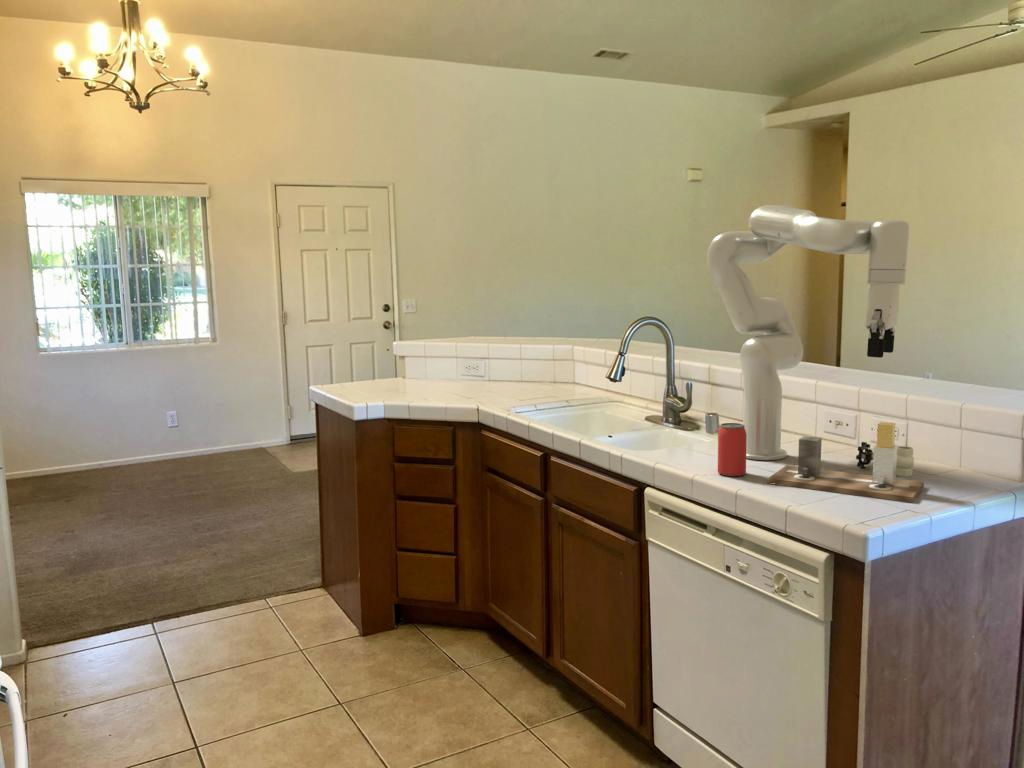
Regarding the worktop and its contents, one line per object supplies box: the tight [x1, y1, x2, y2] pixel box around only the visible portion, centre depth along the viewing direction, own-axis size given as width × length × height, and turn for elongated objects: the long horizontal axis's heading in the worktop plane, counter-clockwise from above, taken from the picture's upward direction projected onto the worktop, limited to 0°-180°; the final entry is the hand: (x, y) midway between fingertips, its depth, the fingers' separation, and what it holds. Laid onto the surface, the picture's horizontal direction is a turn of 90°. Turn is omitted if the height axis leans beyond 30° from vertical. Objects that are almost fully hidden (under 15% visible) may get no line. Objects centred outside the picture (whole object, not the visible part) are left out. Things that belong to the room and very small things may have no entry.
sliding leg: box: [872, 421, 898, 486], centre depth 173 cm, size 4×6×13 cm, turn 145°
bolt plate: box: [767, 435, 925, 504], centre depth 178 cm, size 30×14×10 cm, turn 55°
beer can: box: [717, 422, 747, 477], centre depth 190 cm, size 7×7×12 cm
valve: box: [855, 441, 915, 477], centre depth 189 cm, size 7×7×12 cm
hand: (880, 354), depth 177 cm, fingers open, 9 cm apart
